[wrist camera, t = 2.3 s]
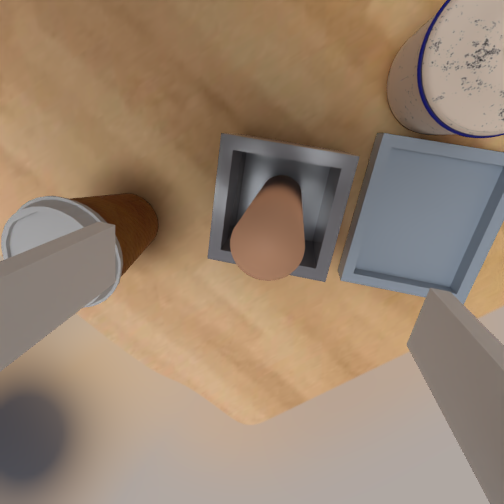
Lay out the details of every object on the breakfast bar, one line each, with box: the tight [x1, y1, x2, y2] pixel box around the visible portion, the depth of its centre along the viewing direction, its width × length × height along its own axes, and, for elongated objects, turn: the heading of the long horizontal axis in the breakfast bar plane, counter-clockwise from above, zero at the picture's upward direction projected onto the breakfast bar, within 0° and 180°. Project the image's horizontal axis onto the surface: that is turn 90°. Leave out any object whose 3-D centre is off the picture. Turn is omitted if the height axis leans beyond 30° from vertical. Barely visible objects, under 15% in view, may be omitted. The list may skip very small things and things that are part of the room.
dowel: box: [230, 175, 305, 281], centre depth 23 cm, size 4×4×15 cm
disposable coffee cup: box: [2, 193, 158, 308], centre depth 29 cm, size 10×10×12 cm
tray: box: [338, 133, 504, 305], centre depth 29 cm, size 14×12×2 cm
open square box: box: [208, 133, 359, 282], centre depth 27 cm, size 10×10×8 cm
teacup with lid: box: [387, 0, 504, 138], centre depth 20 cm, size 12×9×12 cm
